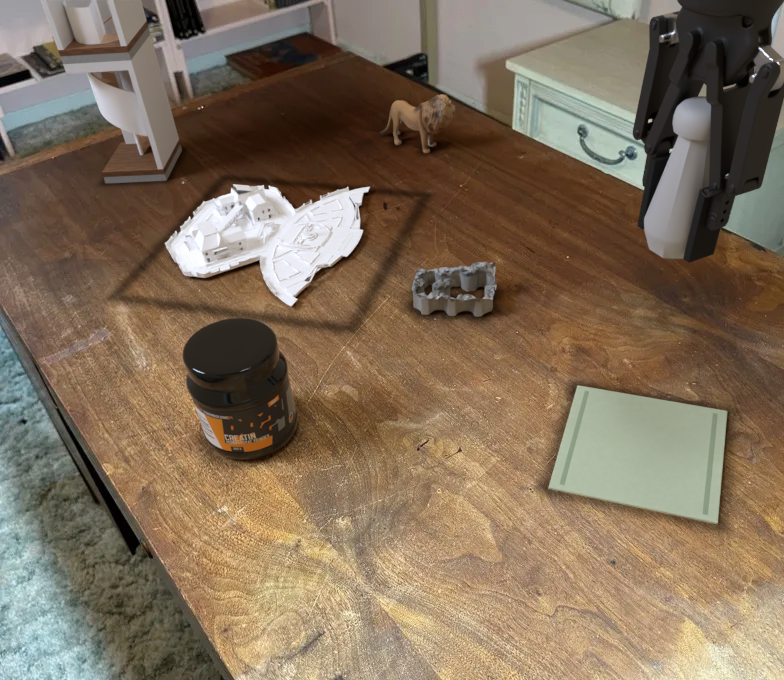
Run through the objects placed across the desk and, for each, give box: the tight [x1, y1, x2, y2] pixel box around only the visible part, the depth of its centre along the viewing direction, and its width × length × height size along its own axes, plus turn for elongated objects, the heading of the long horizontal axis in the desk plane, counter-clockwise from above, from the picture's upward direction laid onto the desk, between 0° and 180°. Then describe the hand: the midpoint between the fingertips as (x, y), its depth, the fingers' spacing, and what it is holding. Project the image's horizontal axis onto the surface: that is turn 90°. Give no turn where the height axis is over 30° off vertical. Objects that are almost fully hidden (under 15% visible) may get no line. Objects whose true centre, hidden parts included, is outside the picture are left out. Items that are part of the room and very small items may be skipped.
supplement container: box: [182, 317, 299, 461], centre depth 81 cm, size 10×10×12 cm
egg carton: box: [410, 261, 498, 318], centre depth 98 cm, size 11×8×4 cm
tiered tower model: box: [39, 0, 183, 184], centre depth 121 cm, size 11×11×35 cm
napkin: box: [548, 384, 728, 525], centre depth 79 cm, size 16×16×1 cm
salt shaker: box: [643, 95, 711, 260], centre depth 65 cm, size 6×6×13 cm
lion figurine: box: [379, 93, 456, 154], centre depth 129 cm, size 15×5×9 cm, turn 58°
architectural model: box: [164, 183, 371, 307], centre depth 112 cm, size 28×33×4 cm
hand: (674, 239), depth 69 cm, fingers closed on salt shaker, 6 cm apart
